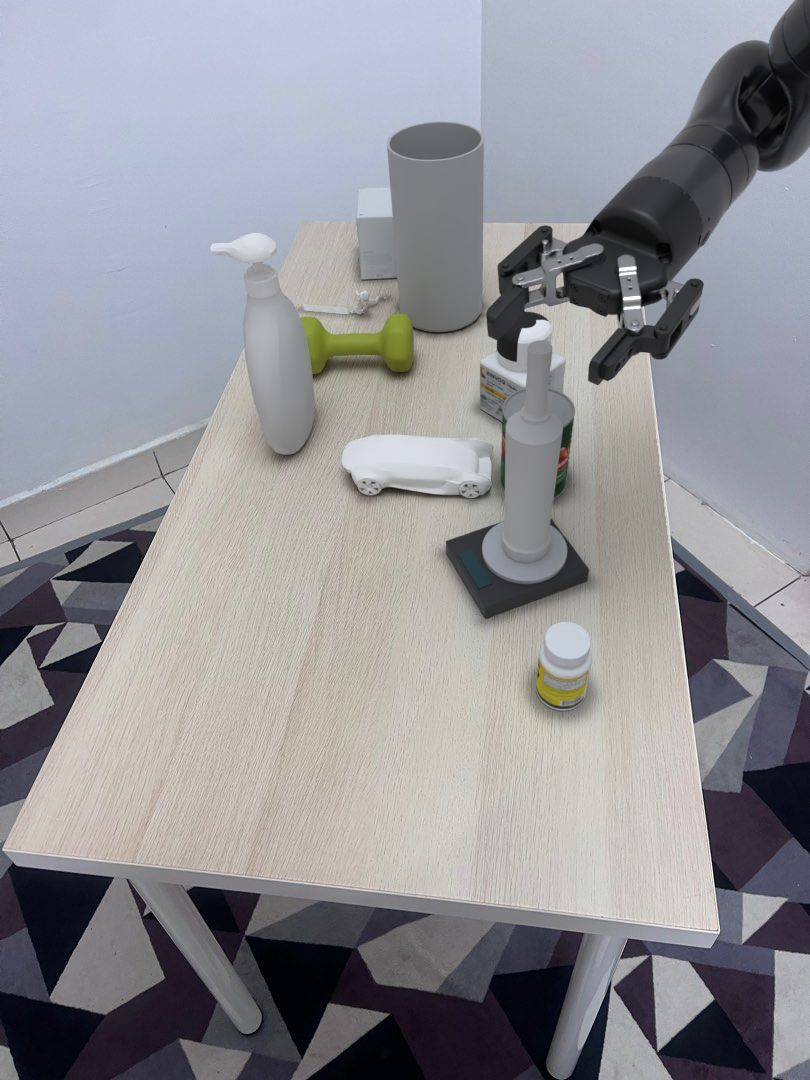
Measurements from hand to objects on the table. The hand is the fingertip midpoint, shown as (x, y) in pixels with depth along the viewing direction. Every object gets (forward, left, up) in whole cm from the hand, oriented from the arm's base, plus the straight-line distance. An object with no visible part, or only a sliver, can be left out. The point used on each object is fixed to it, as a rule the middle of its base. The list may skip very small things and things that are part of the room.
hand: (540, 352), depth 56 cm
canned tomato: (-11, -19, -34) cm, 40 cm away
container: (-16, -32, -34) cm, 49 cm away
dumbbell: (0, -50, -34) cm, 60 cm away
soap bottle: (+13, -41, -34) cm, 54 cm away
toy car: (+1, -26, -34) cm, 42 cm away
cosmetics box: (-13, -76, -34) cm, 84 cm away
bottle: (-5, -8, -31) cm, 32 cm away
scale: (-3, -8, -33) cm, 34 cm away
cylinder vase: (-16, -58, -34) cm, 69 cm away
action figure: (-3, -66, -34) cm, 74 cm away
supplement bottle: (0, +8, -34) cm, 34 cm away
